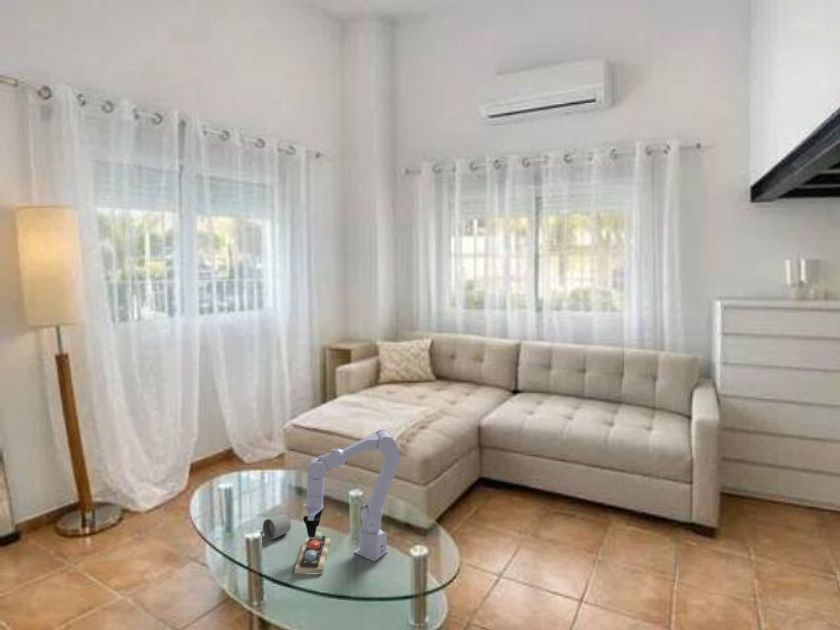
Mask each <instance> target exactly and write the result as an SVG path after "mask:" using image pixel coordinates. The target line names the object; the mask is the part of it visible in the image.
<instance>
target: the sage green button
mask: <svg viewBox="0 0 840 630" xmlns="http://www.w3.org/2000/svg"><path fill="white" fill-rule="evenodd" d="M322 536H324V535H323V532H321V531H317V530H316V534H315V537H311V541H313V540H316V541H319V542H320V541H322Z"/></svg>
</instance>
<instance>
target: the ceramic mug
mask: <svg viewBox="0 0 840 630" xmlns="http://www.w3.org/2000/svg"><path fill="white" fill-rule="evenodd" d="M291 527H292V523H291V519H290V517H289V516H288V515H286V514H285V513H283V514H279V515H278V514H277V515H275V516H272V517H269V518H266V519H265V520H264V521H263V524H262V531H263V535H264V536H265V538H266V539H267V540H270V541H273V540H275V539H276V538H279V537H281V536H283V535H286V534H287V533H288V532H290V530H291Z"/></svg>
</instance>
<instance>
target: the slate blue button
mask: <svg viewBox="0 0 840 630" xmlns="http://www.w3.org/2000/svg"><path fill="white" fill-rule="evenodd" d="M316 559H317V552H316V551H315V550H308V551H306V552H305V561H307V562H313V561H315V560H316Z"/></svg>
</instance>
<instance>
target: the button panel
mask: <svg viewBox="0 0 840 630" xmlns="http://www.w3.org/2000/svg"><path fill="white" fill-rule="evenodd" d="M304 539H305V540H304V543H303V545H302V547H301V550H300V554H299V557H298V559H297V562H296V565H295V567H294V574H295V573H317V574H318V573H319V574H322V575H323V572H324V570H323V569H325V566H326V565H325V564H326V561H327V557H328V554H329V549H330V547H331V546H330V545H331V538H327V537H326V535H322V541H320V549H319V550H318V551H316V552H317V559H316V560H315V561H313V562H307V561H305V552H306V551H308V543H309V542H310V541H311V537H306V538H304ZM317 574H316V575H317Z"/></svg>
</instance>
